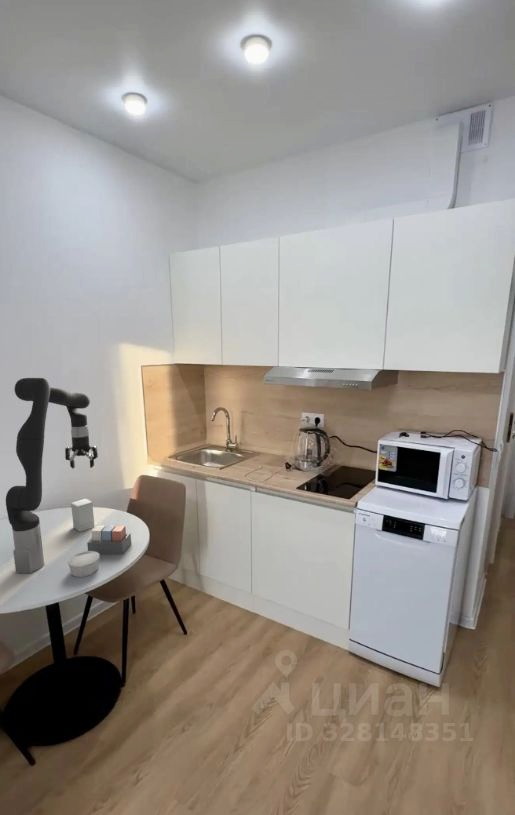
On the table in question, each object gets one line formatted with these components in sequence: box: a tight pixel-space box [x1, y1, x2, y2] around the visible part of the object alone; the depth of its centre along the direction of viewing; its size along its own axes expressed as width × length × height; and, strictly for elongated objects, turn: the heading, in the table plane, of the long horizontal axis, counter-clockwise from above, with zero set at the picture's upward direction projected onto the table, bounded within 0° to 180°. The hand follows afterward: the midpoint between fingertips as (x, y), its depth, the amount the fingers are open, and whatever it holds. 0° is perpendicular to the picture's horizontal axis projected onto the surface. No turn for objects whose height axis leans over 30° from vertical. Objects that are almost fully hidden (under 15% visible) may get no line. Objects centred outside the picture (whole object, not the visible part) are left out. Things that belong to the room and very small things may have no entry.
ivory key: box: [91, 524, 107, 541], centre depth 166 cm, size 5×4×5 cm
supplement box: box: [70, 498, 95, 532], centre depth 186 cm, size 7×7×13 cm
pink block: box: [112, 525, 127, 541], centre depth 165 cm, size 5×4×5 cm
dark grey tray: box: [86, 532, 132, 555], centre depth 166 cm, size 9×15×5 cm, turn 86°
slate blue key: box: [102, 525, 117, 541], centre depth 166 cm, size 5×4×5 cm
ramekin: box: [67, 550, 101, 578], centre depth 151 cm, size 11×11×5 cm
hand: (82, 467), depth 189 cm, fingers open, 8 cm apart
